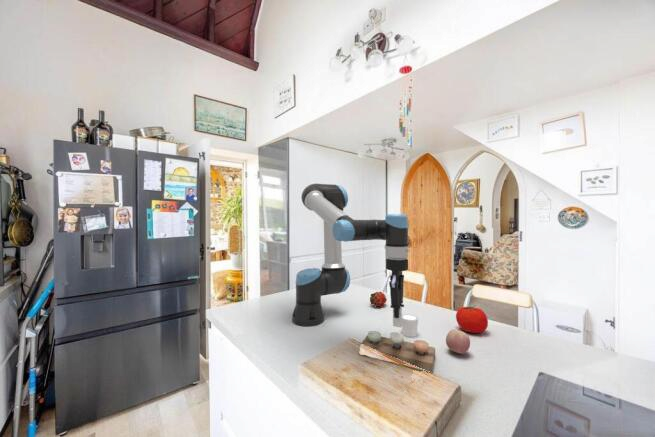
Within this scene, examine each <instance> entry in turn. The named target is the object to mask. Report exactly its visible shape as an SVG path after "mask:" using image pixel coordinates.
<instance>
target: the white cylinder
mask: <svg viewBox="0 0 655 437" xmlns="http://www.w3.org/2000/svg"><path fill="white" fill-rule="evenodd" d="M418 325H419V317H418V316H417V315H414V314H409V313H408V314H407V313H406V314H402V327H401V332H402V334H403V335H404V337H408V338H415V337H417V335H418Z"/></svg>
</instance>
